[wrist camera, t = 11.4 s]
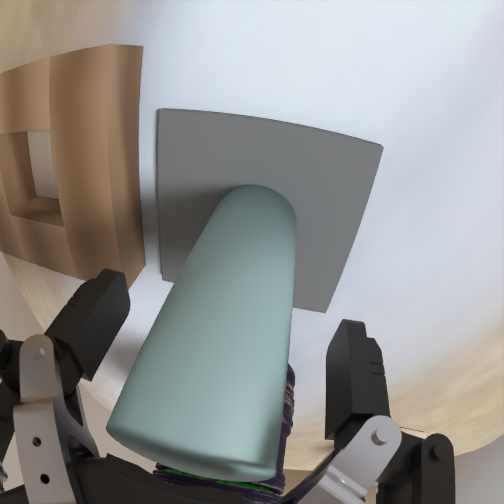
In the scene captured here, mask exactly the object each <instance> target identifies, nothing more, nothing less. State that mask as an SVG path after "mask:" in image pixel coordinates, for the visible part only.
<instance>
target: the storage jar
mask: <svg viewBox="0 0 504 504" xmlns="http://www.w3.org/2000/svg"><path fill="white" fill-rule="evenodd" d="M294 385H295V374H294V371H293V369H292V367H291V366H290V365H289V364H288V367H287V378H286V388H285V398H284V407H283V416H282V425H281V433H280V441H279V449H278V457H277V464H276V471H275V476H274V477H273V478H271V479H268V480H264V481H254V482H241V481H228V480H220V479H213V478H208V477H203V476H198V475H194V474H190V473H187V472H183V471H180V470H176V469H173V468H170V467H167V466H165V465H162V464H159V463H157V464H156V468H157V469H158V470H154V471H153V474H152V475H154V476H156V477H157V478H159V479H161V480H162V481H164V482H166V483H168V484H171V485H181V486H210V487H214V488H219V489H224V490H229V491H235V492H241V493H244V496H243V497H245V498H247V499H250V500H252V501H254V502H256V503H257V504H276V503H277V502H278V501H279V500H280V499H282V498H283V496H280V494H282V493H283V490H284V486H285V485H286V484H285V476H284V474H283V473H282V471H283V463H284V455H285V447H286V439H287V437H288V436H289V435H290V433H291V428H292V426H293V421H292V417H293V412H294V398H293V397H294V391H293V388H294Z"/></svg>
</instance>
